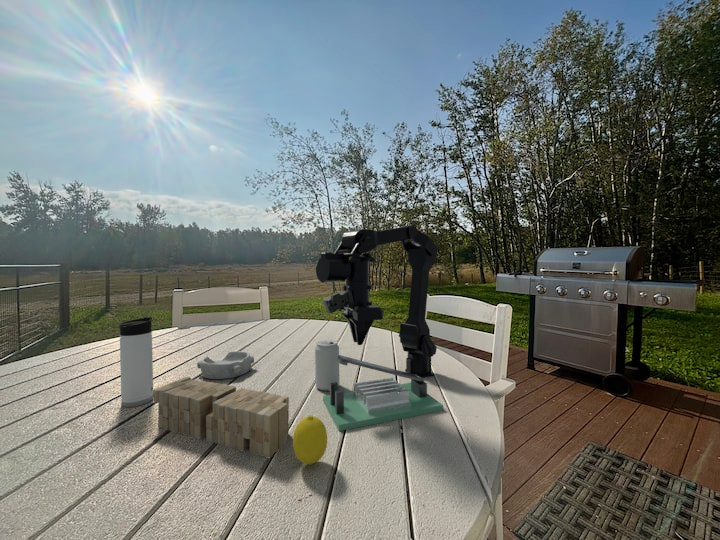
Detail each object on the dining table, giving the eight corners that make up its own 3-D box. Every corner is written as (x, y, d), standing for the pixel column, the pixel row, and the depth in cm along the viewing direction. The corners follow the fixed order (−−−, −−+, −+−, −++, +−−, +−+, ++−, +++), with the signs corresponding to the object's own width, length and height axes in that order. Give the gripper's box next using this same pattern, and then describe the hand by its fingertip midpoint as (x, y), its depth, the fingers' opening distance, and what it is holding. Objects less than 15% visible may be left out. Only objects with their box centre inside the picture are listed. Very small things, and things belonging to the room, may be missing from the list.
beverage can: (335, 392, 78) (335, 346, 78) (311, 391, 79) (311, 344, 79) (342, 383, 84) (341, 339, 84) (320, 381, 85) (319, 339, 85)
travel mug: (160, 397, 76) (159, 317, 76) (133, 409, 70) (131, 322, 70) (142, 394, 78) (141, 316, 78) (114, 405, 72) (112, 320, 72)
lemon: (298, 480, 46) (298, 428, 46) (289, 459, 51) (288, 412, 51) (332, 468, 49) (332, 419, 49) (320, 450, 54) (320, 405, 54)
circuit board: (411, 386, 81) (411, 382, 81) (443, 410, 68) (443, 404, 68) (323, 401, 73) (323, 396, 73) (338, 431, 60) (338, 425, 60)
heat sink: (412, 385, 79) (412, 368, 79) (434, 401, 69) (433, 381, 69) (327, 399, 71) (327, 379, 71) (339, 419, 62) (339, 397, 62)
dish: (190, 377, 90) (190, 361, 90) (227, 363, 103) (227, 348, 103) (228, 384, 84) (228, 366, 84) (262, 368, 97) (261, 353, 97)
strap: (416, 380, 75) (417, 374, 75) (422, 384, 72) (424, 378, 72) (336, 359, 68) (338, 353, 68) (340, 363, 65) (342, 357, 66)
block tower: (295, 441, 59) (187, 410, 70) (296, 397, 58) (187, 373, 70) (268, 466, 51) (152, 426, 62) (268, 416, 51) (152, 386, 62)
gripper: (317, 280, 82) (318, 338, 82) (335, 283, 64) (336, 357, 64) (356, 278, 85) (357, 334, 86) (384, 282, 68) (384, 352, 68)
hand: (357, 343), depth 76 cm, fingers open, 3 cm apart
